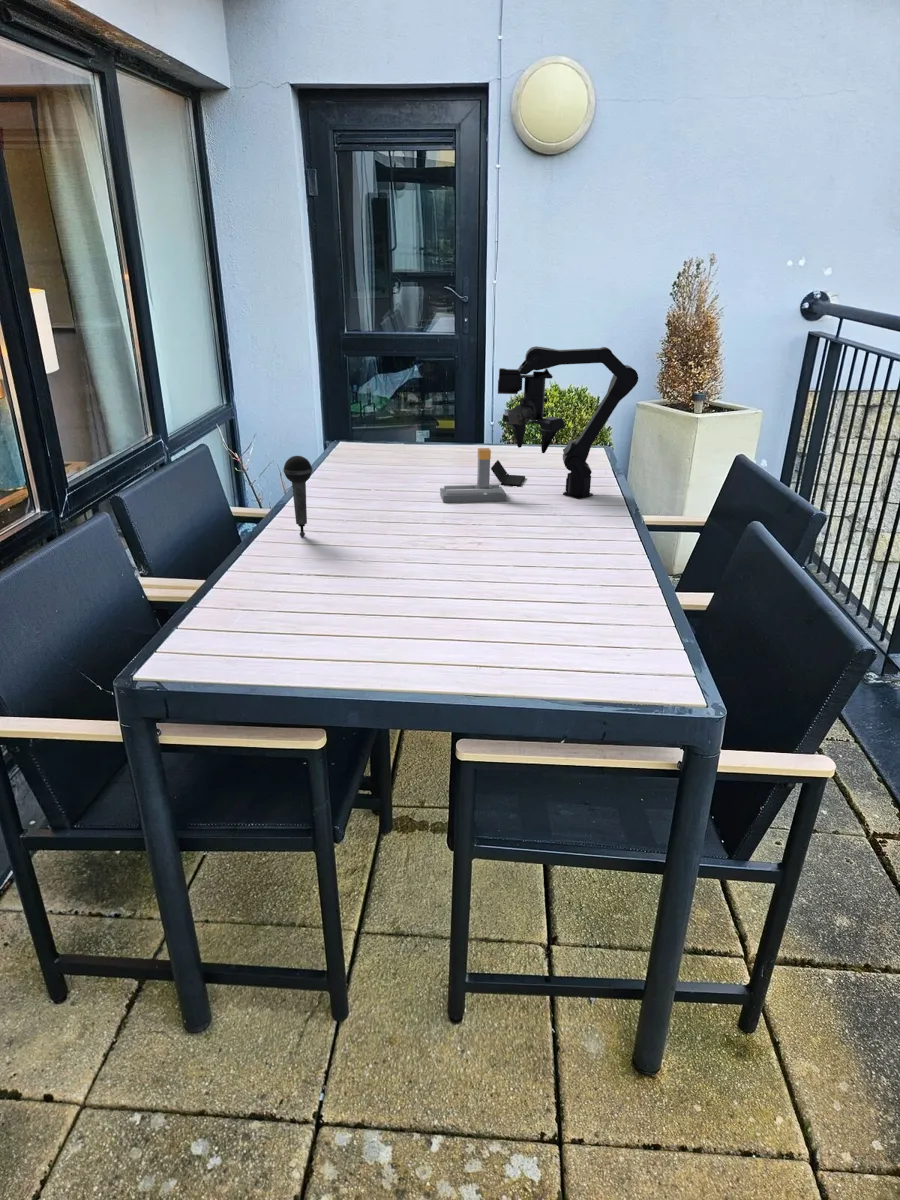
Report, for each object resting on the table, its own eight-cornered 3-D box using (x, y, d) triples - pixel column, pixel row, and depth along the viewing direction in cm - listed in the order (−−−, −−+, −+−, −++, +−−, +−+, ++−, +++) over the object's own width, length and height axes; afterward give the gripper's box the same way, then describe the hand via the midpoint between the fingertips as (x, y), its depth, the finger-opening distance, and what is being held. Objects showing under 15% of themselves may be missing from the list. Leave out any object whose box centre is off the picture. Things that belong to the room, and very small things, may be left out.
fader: (490, 489, 227) (492, 448, 222) (492, 491, 224) (493, 450, 220) (473, 489, 227) (474, 448, 222) (475, 492, 224) (476, 450, 219)
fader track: (501, 493, 231) (501, 482, 229) (506, 501, 223) (506, 490, 222) (440, 495, 228) (440, 484, 227) (443, 502, 221) (443, 491, 220)
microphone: (310, 542, 189) (305, 460, 181) (283, 540, 191) (277, 458, 183) (320, 533, 196) (315, 453, 188) (294, 531, 197) (288, 452, 189)
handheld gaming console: (527, 482, 237) (507, 455, 235) (507, 496, 239) (488, 469, 237) (526, 477, 248) (508, 452, 246) (508, 491, 250) (489, 465, 248)
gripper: (490, 393, 220) (488, 448, 226) (539, 401, 207) (536, 460, 214) (517, 389, 227) (515, 443, 233) (567, 397, 214) (563, 454, 221)
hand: (531, 450), depth 225 cm, fingers open, 9 cm apart
